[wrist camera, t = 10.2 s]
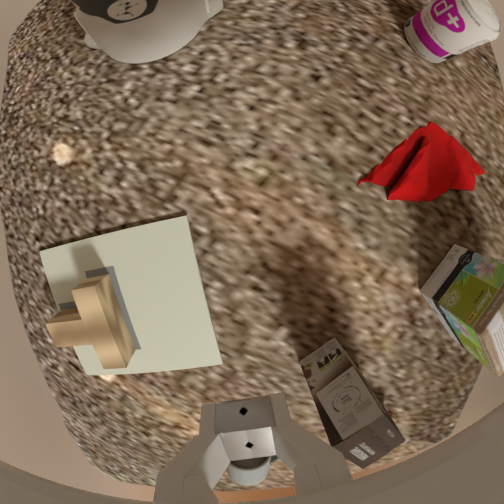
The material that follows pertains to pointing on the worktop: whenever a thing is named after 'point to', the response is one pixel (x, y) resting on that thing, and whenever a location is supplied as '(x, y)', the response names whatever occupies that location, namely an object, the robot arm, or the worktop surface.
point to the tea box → (470, 303)
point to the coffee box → (349, 406)
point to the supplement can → (451, 28)
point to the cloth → (426, 166)
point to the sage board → (143, 294)
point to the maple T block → (95, 323)
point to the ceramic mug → (250, 470)
